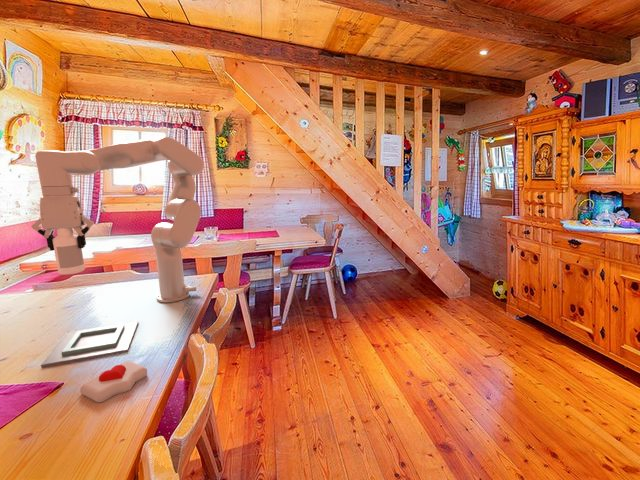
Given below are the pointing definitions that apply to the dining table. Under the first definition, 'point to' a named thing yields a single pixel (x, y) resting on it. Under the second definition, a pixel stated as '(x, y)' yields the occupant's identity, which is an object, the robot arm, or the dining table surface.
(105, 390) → the icon
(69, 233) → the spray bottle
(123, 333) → the dock
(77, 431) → the dining table surface
